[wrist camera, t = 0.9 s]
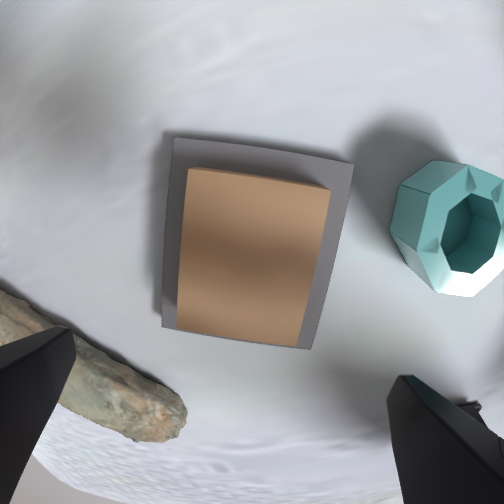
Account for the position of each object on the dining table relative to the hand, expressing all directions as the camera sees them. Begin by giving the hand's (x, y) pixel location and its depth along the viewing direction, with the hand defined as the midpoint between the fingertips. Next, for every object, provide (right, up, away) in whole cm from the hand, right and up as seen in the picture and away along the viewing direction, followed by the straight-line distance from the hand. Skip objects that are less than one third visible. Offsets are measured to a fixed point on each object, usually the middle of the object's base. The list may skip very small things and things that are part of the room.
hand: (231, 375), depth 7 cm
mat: (0, +3, +12) cm, 12 cm away
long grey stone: (-21, -4, +16) cm, 27 cm away
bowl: (+13, +5, +10) cm, 17 cm away
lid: (0, +3, +11) cm, 11 cm away
